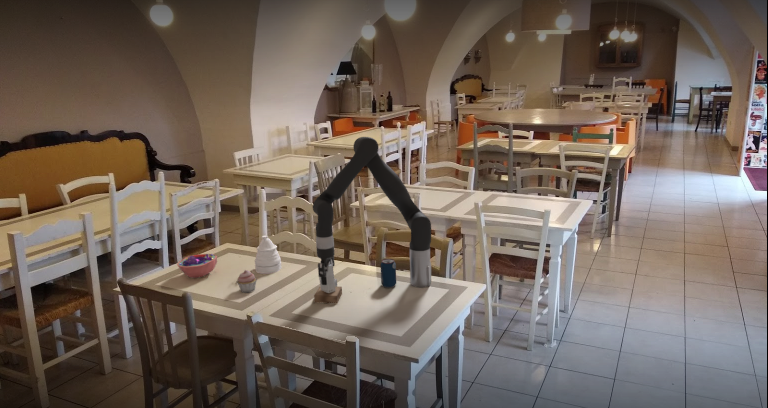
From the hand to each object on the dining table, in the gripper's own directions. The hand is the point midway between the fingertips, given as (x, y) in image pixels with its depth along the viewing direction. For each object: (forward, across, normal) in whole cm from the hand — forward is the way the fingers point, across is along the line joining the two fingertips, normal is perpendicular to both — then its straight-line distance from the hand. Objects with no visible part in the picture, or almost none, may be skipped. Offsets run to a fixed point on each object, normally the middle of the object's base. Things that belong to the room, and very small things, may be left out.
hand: (327, 280), depth 242 cm
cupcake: (+8, +3, +40) cm, 41 cm away
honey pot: (+8, +30, +42) cm, 52 cm away
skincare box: (+5, 0, 0) cm, 5 cm away
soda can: (+8, +18, -23) cm, 30 cm away
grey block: (+8, +10, +3) cm, 13 cm away
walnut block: (+9, 0, 0) cm, 9 cm away
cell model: (+8, +17, +73) cm, 75 cm away
